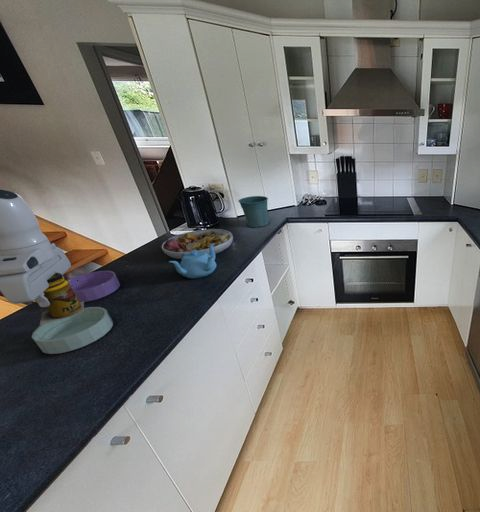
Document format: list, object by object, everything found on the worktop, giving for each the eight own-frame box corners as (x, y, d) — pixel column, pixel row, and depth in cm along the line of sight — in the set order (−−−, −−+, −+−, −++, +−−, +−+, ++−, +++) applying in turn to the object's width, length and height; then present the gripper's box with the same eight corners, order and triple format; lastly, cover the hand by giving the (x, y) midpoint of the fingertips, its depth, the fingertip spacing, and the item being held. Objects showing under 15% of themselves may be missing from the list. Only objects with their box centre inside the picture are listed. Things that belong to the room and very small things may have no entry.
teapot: (184, 267, 121) (176, 246, 116) (222, 261, 126) (216, 241, 122) (176, 284, 109) (168, 261, 104) (219, 276, 114) (213, 255, 110)
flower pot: (248, 230, 161) (243, 204, 154) (240, 223, 172) (234, 198, 165) (276, 225, 171) (272, 200, 164) (266, 218, 182) (262, 194, 175)
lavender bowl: (55, 308, 93) (47, 296, 91) (76, 286, 106) (70, 275, 103) (112, 298, 99) (106, 286, 97) (126, 278, 112) (121, 267, 109)
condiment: (84, 313, 79) (64, 277, 73) (39, 326, 73) (14, 288, 68) (84, 301, 83) (65, 267, 78) (42, 313, 78) (19, 277, 73)
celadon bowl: (28, 361, 73) (17, 348, 71) (58, 326, 85) (50, 314, 83) (102, 345, 79) (94, 331, 77) (120, 314, 91) (114, 302, 89)
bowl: (217, 233, 157) (213, 220, 154) (245, 246, 142) (242, 232, 138) (155, 250, 135) (149, 236, 132) (180, 268, 120) (174, 252, 116)
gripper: (34, 240, 77) (58, 282, 83) (-22, 274, 61) (13, 322, 67) (65, 237, 79) (86, 278, 86) (19, 269, 63) (49, 316, 69)
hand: (54, 298), depth 76 cm, fingers closed on condiment, 6 cm apart
